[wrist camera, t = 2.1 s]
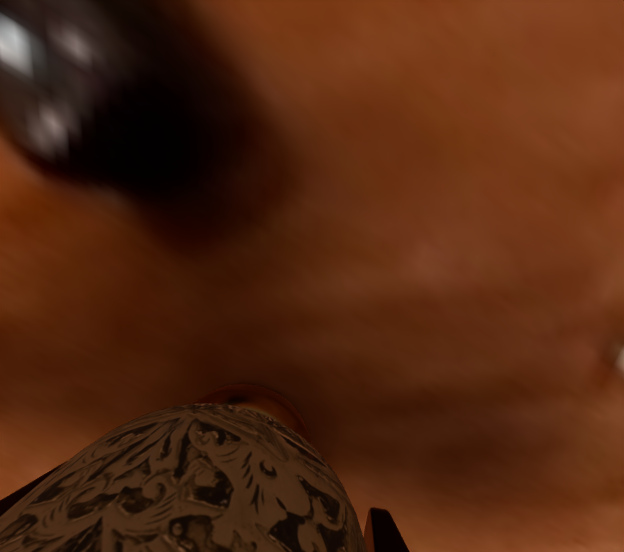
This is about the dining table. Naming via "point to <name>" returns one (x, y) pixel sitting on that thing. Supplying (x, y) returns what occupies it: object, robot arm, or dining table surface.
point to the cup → (193, 486)
